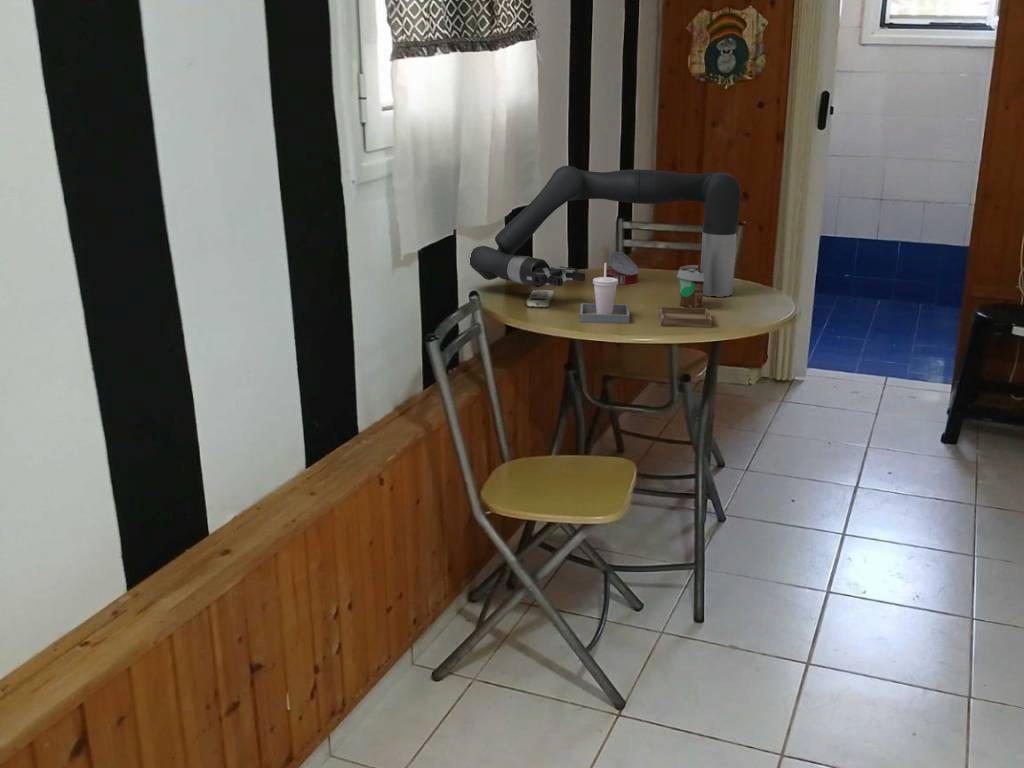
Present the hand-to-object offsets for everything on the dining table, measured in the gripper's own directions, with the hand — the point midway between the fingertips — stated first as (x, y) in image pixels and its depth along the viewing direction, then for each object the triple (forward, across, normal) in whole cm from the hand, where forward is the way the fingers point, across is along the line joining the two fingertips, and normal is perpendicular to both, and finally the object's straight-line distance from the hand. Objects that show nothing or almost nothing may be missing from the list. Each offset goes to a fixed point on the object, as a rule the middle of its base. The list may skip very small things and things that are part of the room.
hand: (573, 279), depth 270 cm
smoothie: (+11, 0, +8) cm, 14 cm away
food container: (+18, +26, +8) cm, 32 cm away
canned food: (-15, +38, +8) cm, 42 cm away
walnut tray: (+27, +11, +8) cm, 31 cm away
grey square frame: (+11, 0, +8) cm, 13 cm away
